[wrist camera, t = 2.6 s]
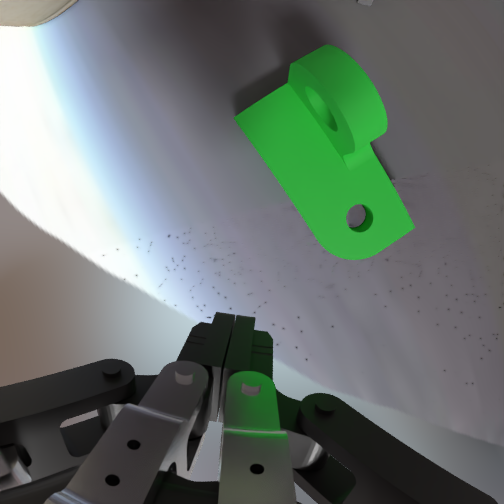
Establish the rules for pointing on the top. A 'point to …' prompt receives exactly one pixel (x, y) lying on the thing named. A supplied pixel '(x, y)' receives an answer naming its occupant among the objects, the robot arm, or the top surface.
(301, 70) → the mechanical part
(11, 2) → the jug
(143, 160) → the top surface
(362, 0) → the low bench
